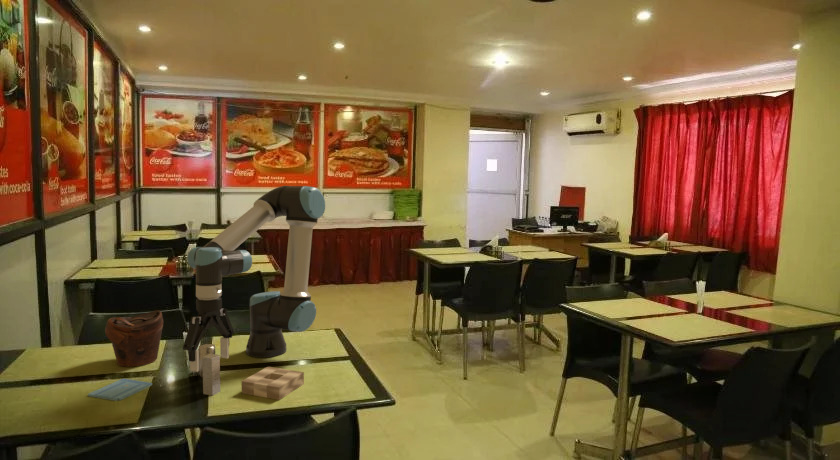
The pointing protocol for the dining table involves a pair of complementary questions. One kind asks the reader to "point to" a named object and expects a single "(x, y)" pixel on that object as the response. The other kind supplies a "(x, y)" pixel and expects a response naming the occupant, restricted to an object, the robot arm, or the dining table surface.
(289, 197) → the robot arm
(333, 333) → the dining table surface
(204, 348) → the round bit
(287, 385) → the socket block
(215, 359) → the square bit
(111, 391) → the blue flat panel
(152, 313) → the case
